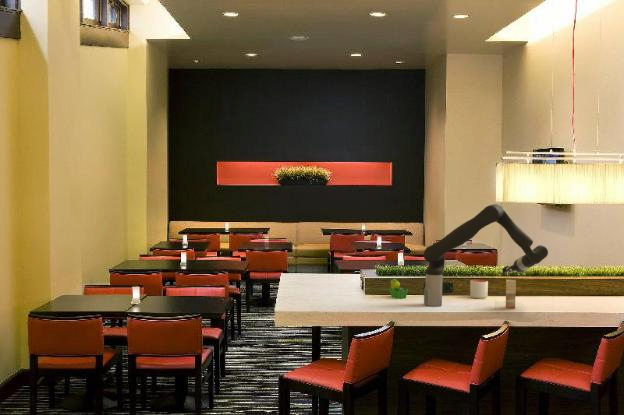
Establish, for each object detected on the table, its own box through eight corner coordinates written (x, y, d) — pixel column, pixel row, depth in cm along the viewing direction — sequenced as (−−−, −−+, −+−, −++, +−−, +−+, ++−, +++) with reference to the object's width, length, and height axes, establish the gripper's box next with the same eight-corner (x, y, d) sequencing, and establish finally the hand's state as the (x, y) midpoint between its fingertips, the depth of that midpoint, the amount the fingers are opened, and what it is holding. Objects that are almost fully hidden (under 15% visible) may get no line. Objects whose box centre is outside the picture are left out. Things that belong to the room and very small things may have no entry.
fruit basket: (408, 298, 475) (409, 279, 474) (395, 299, 472) (395, 280, 471) (399, 295, 485) (400, 276, 485) (386, 296, 482) (386, 277, 481)
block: (515, 308, 443) (515, 281, 443) (505, 308, 444) (506, 280, 444) (514, 307, 448) (515, 280, 447) (505, 306, 449) (506, 279, 449)
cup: (482, 299, 475) (483, 282, 474) (467, 297, 481) (467, 280, 481) (490, 297, 483) (490, 280, 482) (474, 295, 489) (475, 279, 488)
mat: (525, 310, 440) (525, 309, 440) (494, 309, 444) (494, 308, 444) (523, 303, 464) (523, 302, 464) (494, 302, 467) (494, 301, 467)
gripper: (533, 255, 438) (520, 263, 453) (509, 258, 434) (497, 266, 449) (537, 268, 436) (523, 276, 450) (513, 271, 432) (500, 280, 447)
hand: (510, 271), depth 450 cm, fingers open, 8 cm apart
